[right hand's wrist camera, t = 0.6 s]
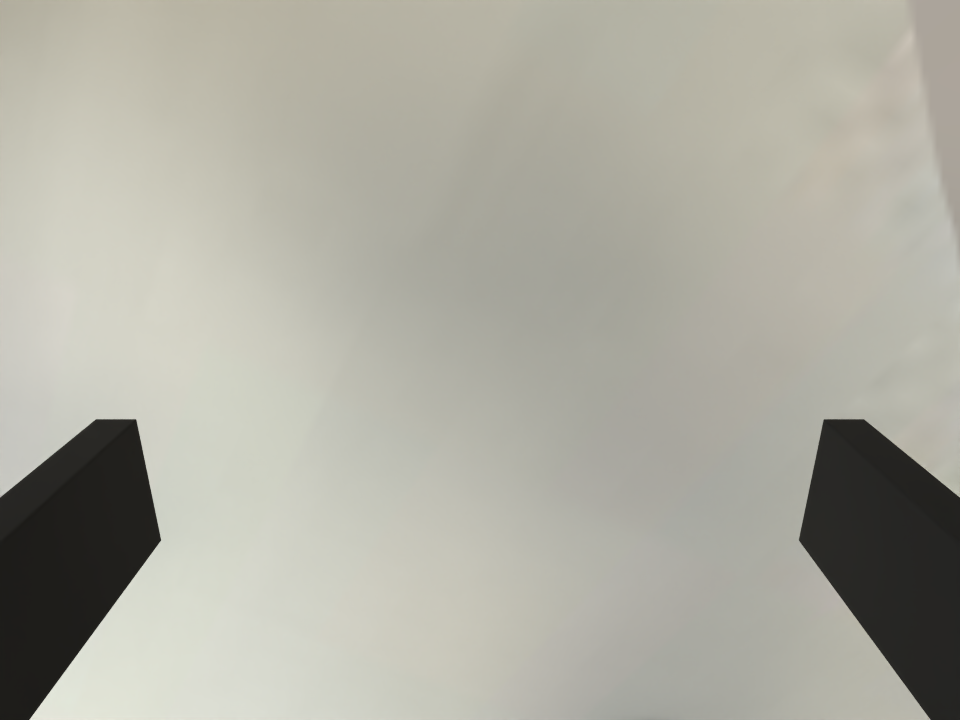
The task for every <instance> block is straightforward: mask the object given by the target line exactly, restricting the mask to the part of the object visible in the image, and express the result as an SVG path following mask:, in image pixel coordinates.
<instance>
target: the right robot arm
mask: <svg viewBox="0 0 960 720" xmlns="http://www.w3.org/2000/svg"><path fill="white" fill-rule="evenodd" d="M160 541H161V538H160V533H159V528H158V523H157V518H156V513H155V508H154V504H153V499H152V494H151V489H150V484H149V479H148V475H147V470H146V465H145V460H144V455H143V450H142V445H141V441H140V436H139V431H138V426H137V421H136V419H96V420H95V421H94V422H92V423H91V424H90V425H89V426H87V427H86V428H85V429H84V430H83V431H81V432H80V433H79V434H78V435H76V436H75V437H74V438H73V439H71V440H70V441H69V442H68V443H67V444H65V445H64V446H63V447H62V448H60V449H59V450H58V451H57V452H56V453H54V454H53V455H52V456H51V457H49V458H48V459H47V460H46V461H45V462H43V463H42V464H41V465H40V466H38V467H37V468H36V469H35V470H34V471H32V472H31V473H30V474H29V475H27V476H26V477H25V478H24V479H22V480H21V481H20V482H19V483H18V484H16V485H15V486H14V487H13V488H11V489H10V490H9V491H8V492H7V493H5V494H4V495H3V496H2V497H0V720H29V719H30V718H31V717H32V715H33V714H34V713H35V711H36V710H37V709H38V707H39V706H40V704H41V703H42V702H43V700H44V699H45V698H46V696H47V695H48V694H49V692H50V691H51V689H52V688H53V687H54V685H55V684H56V683H57V681H58V680H59V679H60V677H61V676H62V674H63V673H64V672H65V670H66V669H67V668H68V666H69V665H70V664H71V662H72V661H73V660H74V658H75V657H76V655H77V654H78V653H79V651H80V650H81V649H82V647H83V646H84V645H85V643H86V642H87V640H88V639H89V638H90V636H91V635H92V634H93V632H94V631H95V630H96V628H97V627H98V625H99V624H100V623H101V621H102V620H103V619H104V617H105V616H106V615H107V613H108V612H109V610H110V609H111V608H112V606H113V605H114V604H115V602H116V601H117V600H118V598H119V597H120V596H121V594H122V593H123V591H124V590H125V589H126V587H127V586H128V585H129V583H130V582H131V581H132V579H133V578H134V576H135V575H136V574H137V572H138V571H139V570H140V568H141V567H142V566H143V564H144V563H145V561H146V560H147V559H148V557H149V556H150V555H151V553H152V552H153V551H154V549H155V548H156V546H157V545H158V544H159V542H160ZM799 541H800V542H801V544H802V545H803V546H804V548H805V549H806V551H807V552H808V553H809V555H810V556H811V557H812V559H813V560H814V561H815V563H816V564H817V566H818V567H819V568H820V570H821V571H822V572H823V574H824V575H825V576H826V578H827V579H828V581H829V582H830V583H831V585H832V586H833V587H834V589H835V590H836V591H837V593H838V594H839V596H840V597H841V598H842V600H843V601H844V602H845V604H846V605H847V606H848V608H849V609H850V610H851V612H852V613H853V615H854V616H855V617H856V619H857V620H858V621H859V623H860V624H861V625H862V627H863V628H864V630H865V631H866V632H867V634H868V635H869V636H870V638H871V639H872V640H873V642H874V643H875V645H876V646H877V647H878V649H879V650H880V651H881V653H882V654H883V655H884V657H885V658H886V660H887V661H888V662H889V664H890V665H891V666H892V668H893V669H894V670H895V672H896V673H897V674H898V676H899V677H900V679H901V680H902V681H903V683H904V684H905V685H906V687H907V688H908V689H909V691H910V692H911V694H912V695H913V696H914V698H915V699H916V700H917V702H918V703H919V704H920V706H921V707H922V709H923V710H924V711H925V713H926V714H927V715H928V717H929V718H930V719H931V720H960V497H958V496H957V495H956V494H955V493H953V492H952V491H951V490H950V489H949V488H947V487H946V486H945V485H944V484H942V483H941V482H940V481H939V480H937V479H936V478H935V477H934V476H933V475H931V474H930V473H929V472H928V471H926V470H925V469H924V468H923V467H922V466H920V465H919V464H918V463H917V462H915V461H914V460H913V459H912V458H911V457H909V456H908V455H907V454H906V453H904V452H903V451H902V450H901V449H900V448H898V447H897V446H896V445H895V444H893V443H892V442H891V441H890V440H889V439H887V438H886V437H885V436H884V435H882V434H881V433H880V432H879V431H877V430H876V429H875V428H874V427H873V426H871V425H870V424H869V423H868V422H866V421H865V420H864V419H824V421H823V426H822V431H821V436H820V441H819V445H818V450H817V455H816V460H815V465H814V470H813V474H812V479H811V484H810V489H809V494H808V499H807V504H806V508H805V513H804V518H803V523H802V528H801V533H800V538H799Z"/></svg>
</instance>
